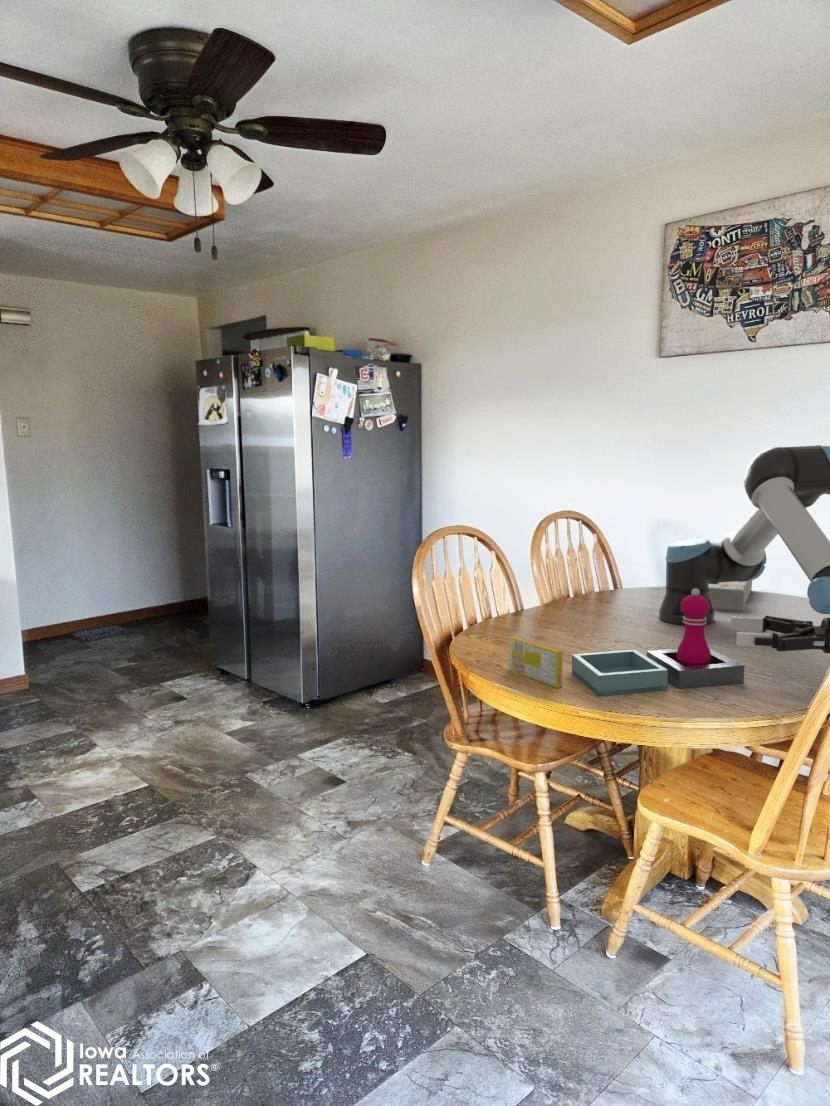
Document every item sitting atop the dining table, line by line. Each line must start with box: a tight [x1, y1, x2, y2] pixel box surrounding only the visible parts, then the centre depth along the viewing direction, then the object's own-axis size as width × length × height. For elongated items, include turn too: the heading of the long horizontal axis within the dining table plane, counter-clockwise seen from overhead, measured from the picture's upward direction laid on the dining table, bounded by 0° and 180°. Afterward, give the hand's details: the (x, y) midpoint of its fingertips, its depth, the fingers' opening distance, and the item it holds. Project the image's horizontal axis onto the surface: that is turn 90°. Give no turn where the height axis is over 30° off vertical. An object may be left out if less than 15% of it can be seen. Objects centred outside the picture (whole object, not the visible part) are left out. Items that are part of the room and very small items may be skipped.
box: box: [708, 580, 753, 612], centre depth 235 cm, size 23×8×32 cm
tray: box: [571, 649, 668, 697], centre depth 158 cm, size 15×15×4 cm
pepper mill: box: [677, 588, 711, 666], centre depth 159 cm, size 7×7×20 cm
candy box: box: [508, 635, 564, 689], centre depth 162 cm, size 16×2×8 cm, turn 33°
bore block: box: [646, 647, 745, 690], centre depth 161 cm, size 15×15×4 cm
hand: (733, 630), depth 157 cm, fingers open, 13 cm apart
